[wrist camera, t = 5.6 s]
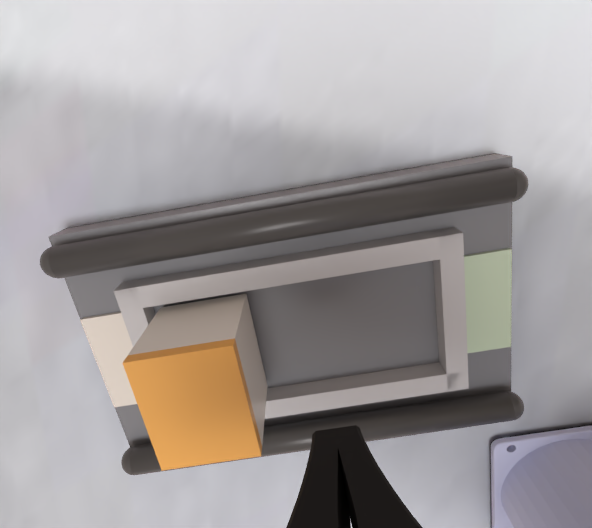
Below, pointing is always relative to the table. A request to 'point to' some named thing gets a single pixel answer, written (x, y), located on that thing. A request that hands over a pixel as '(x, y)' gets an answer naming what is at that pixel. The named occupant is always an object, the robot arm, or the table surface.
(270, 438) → the panel
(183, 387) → the orange-faced white block
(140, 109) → the table surface
